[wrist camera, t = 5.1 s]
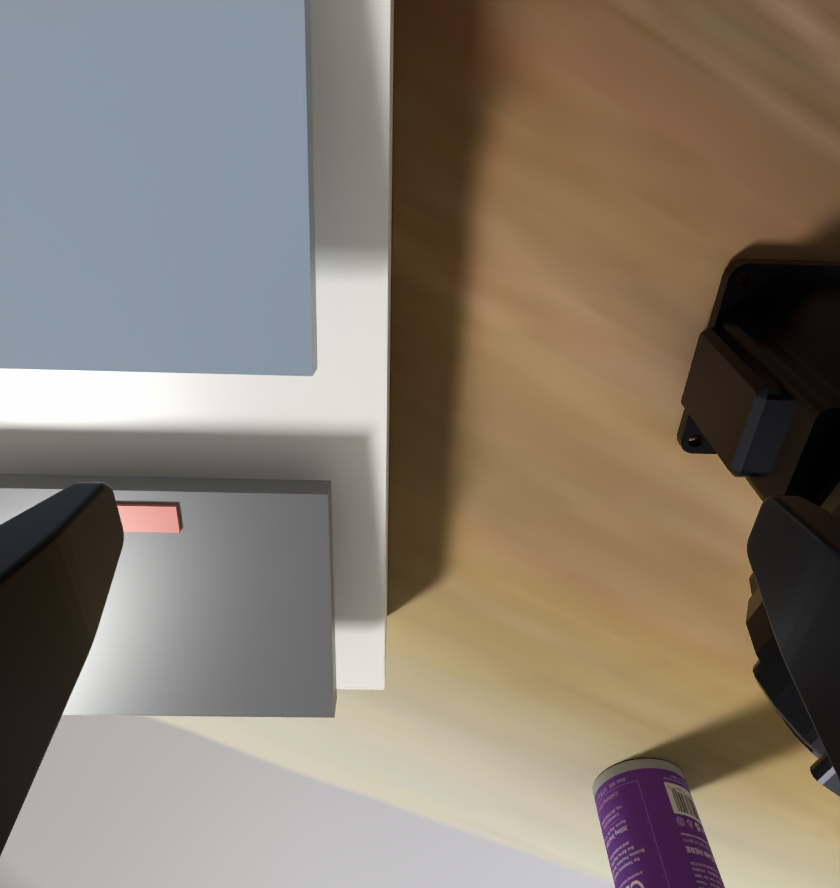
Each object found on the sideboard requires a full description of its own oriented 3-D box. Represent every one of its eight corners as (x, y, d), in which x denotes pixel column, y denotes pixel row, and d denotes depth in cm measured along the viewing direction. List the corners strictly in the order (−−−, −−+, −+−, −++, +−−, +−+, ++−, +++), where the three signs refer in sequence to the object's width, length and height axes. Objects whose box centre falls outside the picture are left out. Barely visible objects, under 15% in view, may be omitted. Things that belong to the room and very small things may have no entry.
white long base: (396, -220, 14) (392, -289, 11) (386, 617, 27) (384, 694, 24) (-293, -257, 14) (-503, -339, 10) (41, 612, 27) (-7, 690, 24)
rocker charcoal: (334, 463, 19) (327, 496, 18) (339, 674, 23) (333, 720, 21) (-52, 455, 19) (-100, 488, 17) (10, 670, 22) (-24, 716, 21)
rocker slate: (316, -39, 13) (302, -79, 11) (323, 358, 16) (312, 377, 14) (-253, -63, 13) (-363, -109, 11) (-150, 346, 16) (-225, 364, 14)
